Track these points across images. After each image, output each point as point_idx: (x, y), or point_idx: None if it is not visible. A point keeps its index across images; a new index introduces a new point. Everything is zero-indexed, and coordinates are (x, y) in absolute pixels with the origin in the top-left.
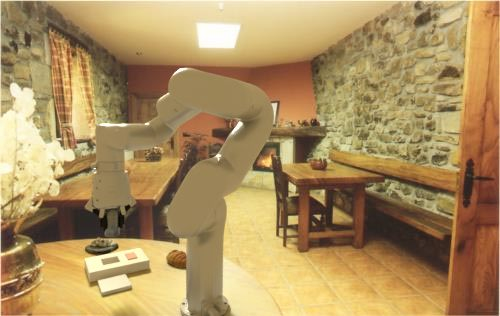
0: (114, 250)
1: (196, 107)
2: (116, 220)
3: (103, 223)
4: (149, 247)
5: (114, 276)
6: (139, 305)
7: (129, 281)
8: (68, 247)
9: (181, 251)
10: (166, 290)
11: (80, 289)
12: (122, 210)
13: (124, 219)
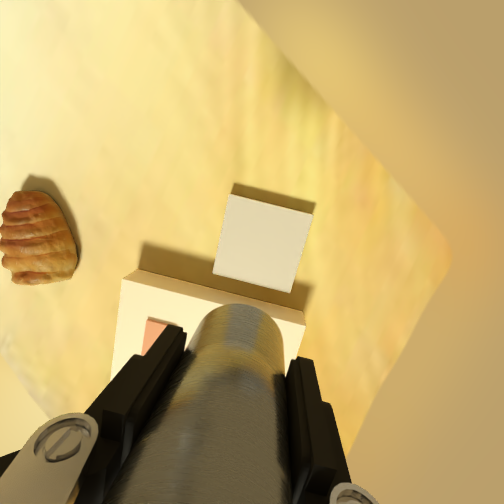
0: None
1: None
2: (196, 381)
3: (320, 408)
4: (81, 392)
5: (237, 295)
6: (258, 78)
7: (224, 220)
8: None
9: (5, 259)
10: (156, 101)
11: (336, 291)
12: (45, 488)
13: (111, 380)
